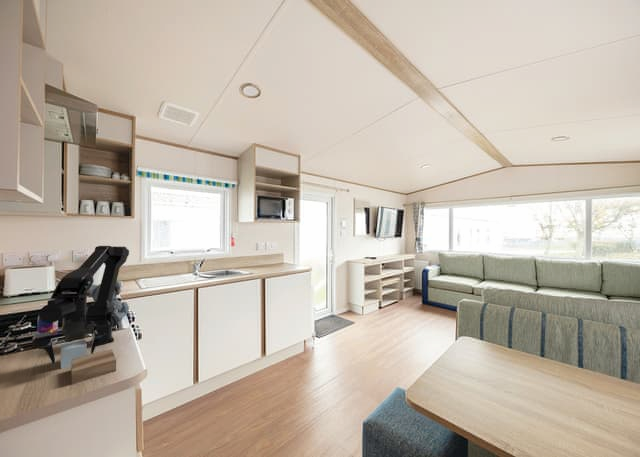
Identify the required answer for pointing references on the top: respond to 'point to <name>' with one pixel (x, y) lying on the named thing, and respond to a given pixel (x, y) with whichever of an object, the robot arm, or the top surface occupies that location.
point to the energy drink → (47, 328)
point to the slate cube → (72, 352)
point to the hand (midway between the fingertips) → (73, 358)
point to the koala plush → (120, 308)
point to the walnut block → (92, 366)
